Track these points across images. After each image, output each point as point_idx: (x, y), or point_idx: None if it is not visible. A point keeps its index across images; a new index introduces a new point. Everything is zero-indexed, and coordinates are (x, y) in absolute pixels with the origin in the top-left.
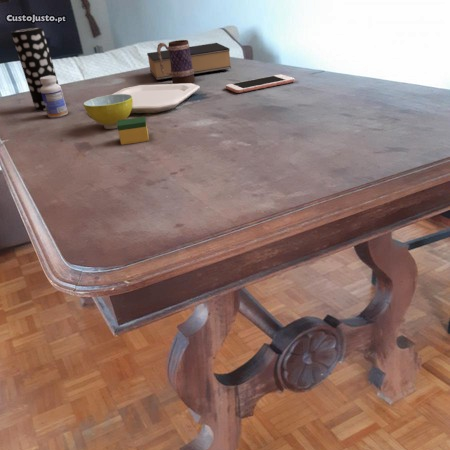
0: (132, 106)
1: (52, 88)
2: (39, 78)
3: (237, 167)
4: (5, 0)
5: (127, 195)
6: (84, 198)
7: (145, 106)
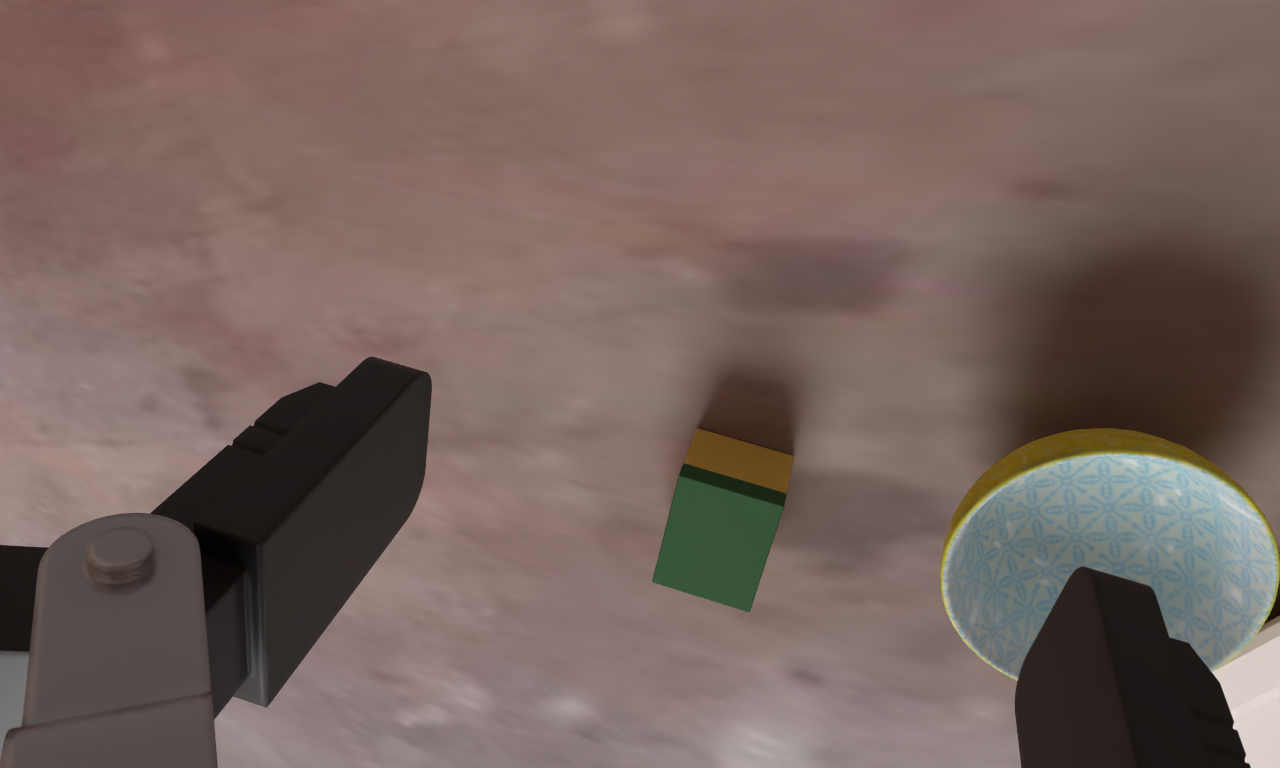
0: (1221, 668)
1: None
2: None
3: None
4: (1044, 650)
5: (128, 292)
6: (147, 159)
7: None
